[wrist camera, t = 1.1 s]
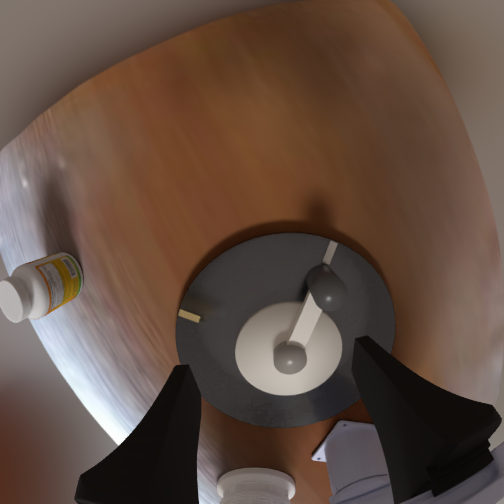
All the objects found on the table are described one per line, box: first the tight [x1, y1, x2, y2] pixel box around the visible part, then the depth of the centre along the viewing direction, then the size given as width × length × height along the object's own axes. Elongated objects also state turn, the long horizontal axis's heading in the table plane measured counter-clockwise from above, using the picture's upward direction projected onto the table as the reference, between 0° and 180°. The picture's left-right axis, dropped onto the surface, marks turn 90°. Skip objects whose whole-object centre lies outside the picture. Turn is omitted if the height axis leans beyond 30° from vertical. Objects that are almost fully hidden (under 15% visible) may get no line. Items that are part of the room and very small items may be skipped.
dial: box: [235, 265, 348, 395], centre depth 24 cm, size 14×10×5 cm
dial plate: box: [176, 232, 395, 428], centre depth 27 cm, size 22×22×1 cm
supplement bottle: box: [0, 252, 83, 323], centre depth 23 cm, size 5×5×10 cm
